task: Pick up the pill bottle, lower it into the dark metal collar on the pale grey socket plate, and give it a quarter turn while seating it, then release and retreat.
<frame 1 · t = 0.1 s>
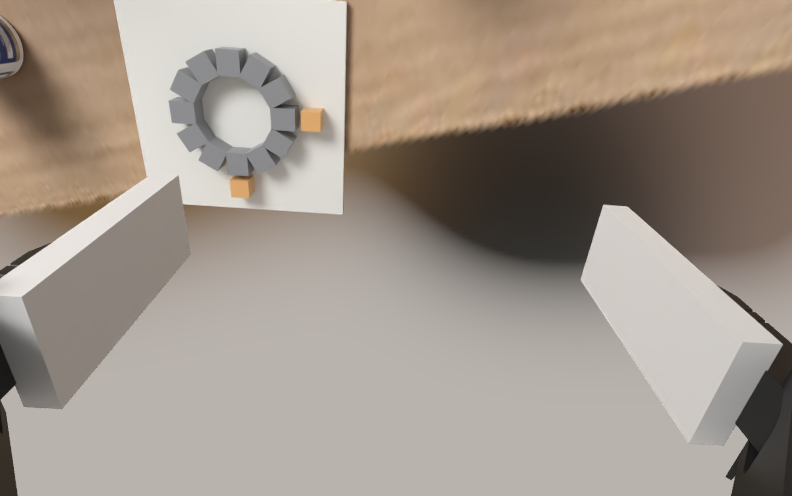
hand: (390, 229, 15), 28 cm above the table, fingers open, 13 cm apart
socket: (241, 110, 40), on the table
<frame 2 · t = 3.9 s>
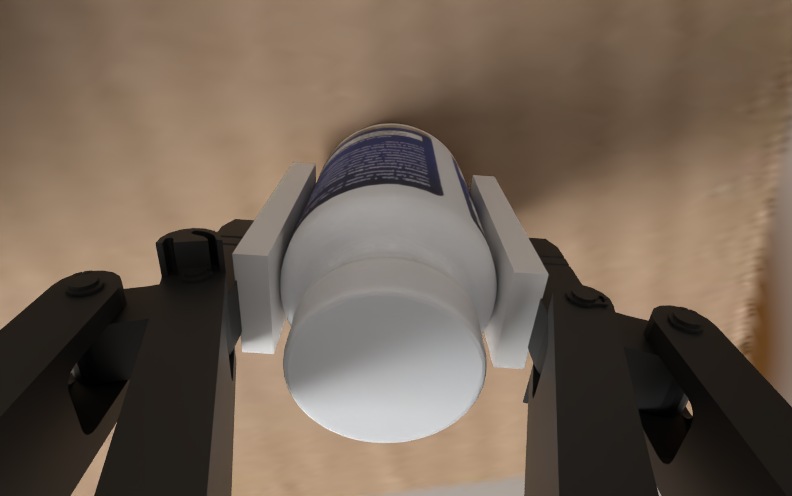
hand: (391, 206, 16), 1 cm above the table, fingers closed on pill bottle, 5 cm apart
pill bottle: (391, 190, 18), on the table, touching gripper
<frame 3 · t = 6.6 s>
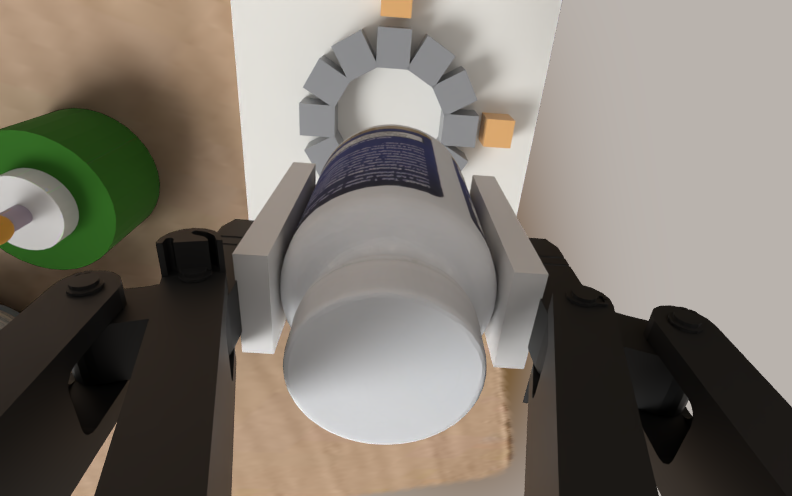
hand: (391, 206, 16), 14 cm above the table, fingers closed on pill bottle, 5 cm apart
socket: (389, 116, 29), on the table
candle: (96, 171, 31), on the table
pill bottle: (391, 191, 18), point 13 cm above the table, touching gripper
when the fingers open (3 cm above the table, at t = 9.2 s): pill bottle stays where it is, resting on socket.
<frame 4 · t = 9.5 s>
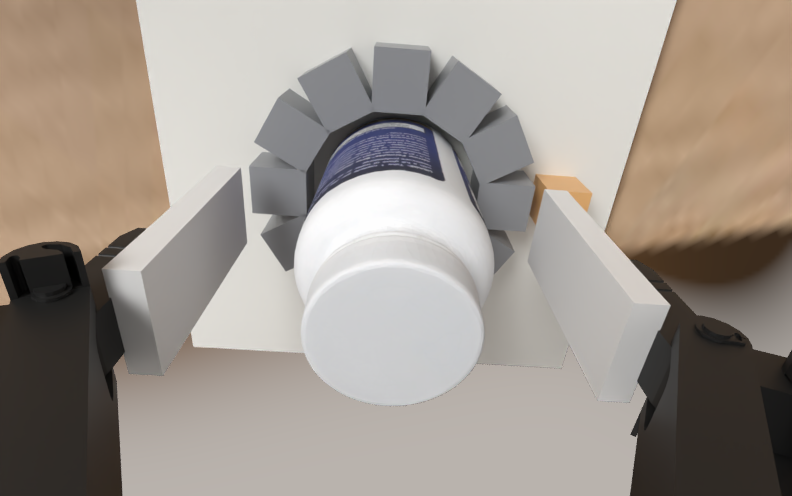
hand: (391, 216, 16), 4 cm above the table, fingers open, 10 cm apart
socket: (392, 178, 19), on the table
pill bottle: (394, 180, 19), resting on socket
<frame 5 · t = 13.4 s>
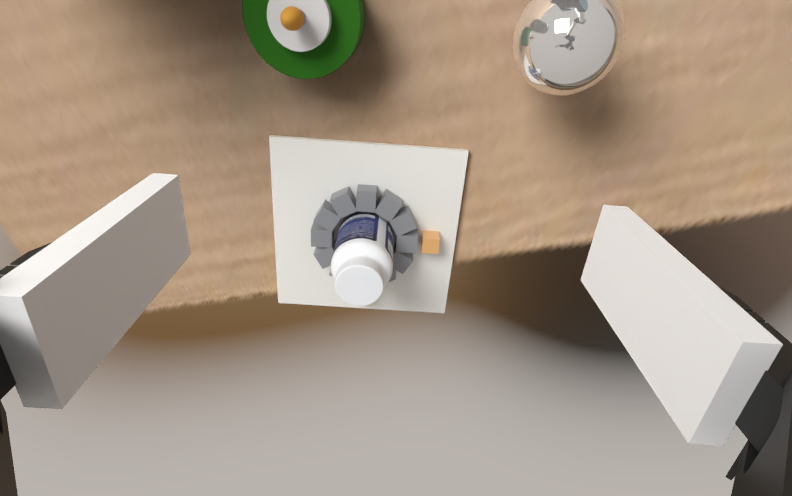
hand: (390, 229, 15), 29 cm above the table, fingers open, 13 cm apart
socket: (365, 230, 47), on the table
candle: (314, 15, 38), on the table
light bulb: (533, 33, 38), on the table
pill bottle: (366, 232, 46), resting on socket
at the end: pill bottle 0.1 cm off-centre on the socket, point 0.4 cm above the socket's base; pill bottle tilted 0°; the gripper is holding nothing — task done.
